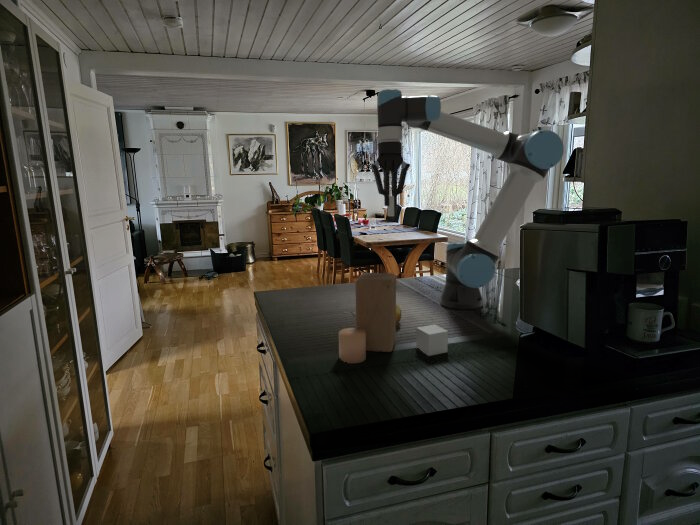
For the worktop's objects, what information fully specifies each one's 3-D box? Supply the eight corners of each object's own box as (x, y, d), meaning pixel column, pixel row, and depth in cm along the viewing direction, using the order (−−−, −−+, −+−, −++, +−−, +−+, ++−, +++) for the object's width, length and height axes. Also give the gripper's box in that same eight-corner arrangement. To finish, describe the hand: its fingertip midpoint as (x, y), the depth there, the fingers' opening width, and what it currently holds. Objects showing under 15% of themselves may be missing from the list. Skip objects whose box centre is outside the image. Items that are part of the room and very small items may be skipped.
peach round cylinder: (363, 351, 117) (362, 327, 116) (368, 362, 110) (368, 336, 109) (337, 353, 116) (337, 328, 115) (341, 364, 109) (340, 338, 108)
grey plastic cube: (434, 344, 121) (434, 324, 120) (447, 352, 116) (448, 331, 115) (416, 348, 119) (416, 327, 118) (428, 356, 114) (429, 334, 112)
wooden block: (392, 353, 115) (392, 280, 112) (355, 351, 117) (354, 279, 114) (395, 340, 125) (396, 272, 121) (361, 338, 127) (361, 271, 123)
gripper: (405, 142, 142) (405, 214, 147) (367, 143, 139) (368, 216, 144) (413, 140, 135) (413, 215, 139) (373, 140, 132) (374, 217, 137)
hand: (390, 215), depth 142 cm, fingers closed
